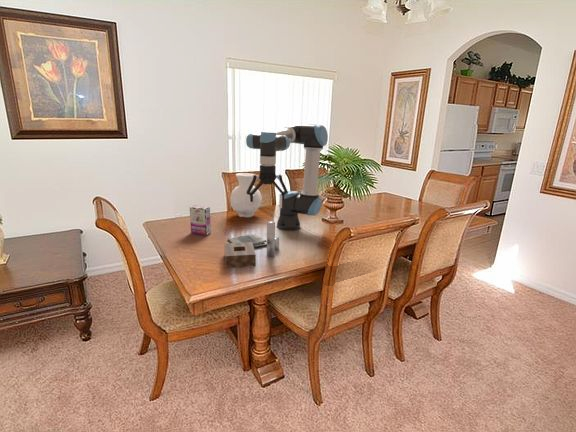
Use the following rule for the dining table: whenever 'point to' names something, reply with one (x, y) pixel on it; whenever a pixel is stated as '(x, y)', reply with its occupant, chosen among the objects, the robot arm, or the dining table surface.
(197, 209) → the candy bar box
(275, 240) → the short pin
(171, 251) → the dining table surface
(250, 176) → the vase
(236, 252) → the hole block
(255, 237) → the dish towel
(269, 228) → the long pin
